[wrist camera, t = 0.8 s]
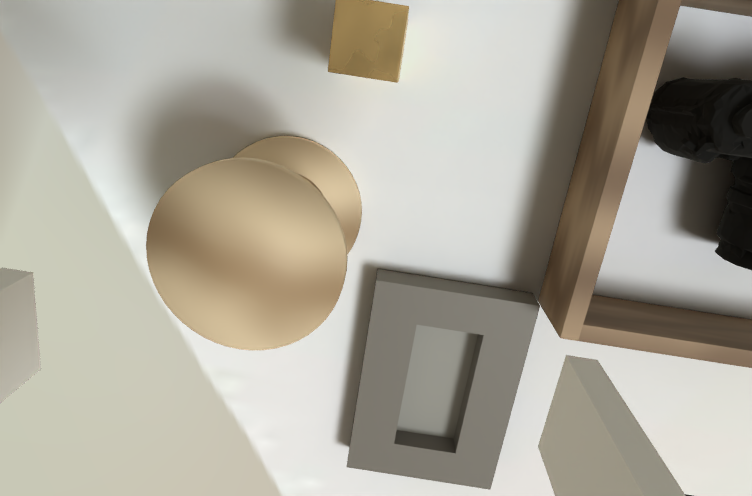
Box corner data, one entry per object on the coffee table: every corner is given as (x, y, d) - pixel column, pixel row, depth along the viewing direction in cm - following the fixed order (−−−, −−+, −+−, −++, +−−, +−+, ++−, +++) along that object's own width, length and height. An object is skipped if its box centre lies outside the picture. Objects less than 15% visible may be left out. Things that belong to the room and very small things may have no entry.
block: (353, 16, 29) (336, -5, 21) (407, 24, 29) (409, 6, 21) (346, 73, 30) (327, 71, 22) (398, 81, 30) (397, 82, 22)
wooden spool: (222, 125, 31) (147, 145, 22) (371, 148, 31) (358, 178, 22) (214, 265, 34) (145, 334, 25) (351, 286, 34) (332, 363, 25)
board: (377, 268, 33) (376, 280, 32) (532, 292, 33) (539, 305, 32) (349, 447, 38) (346, 467, 36) (485, 468, 38) (490, 489, 36)
